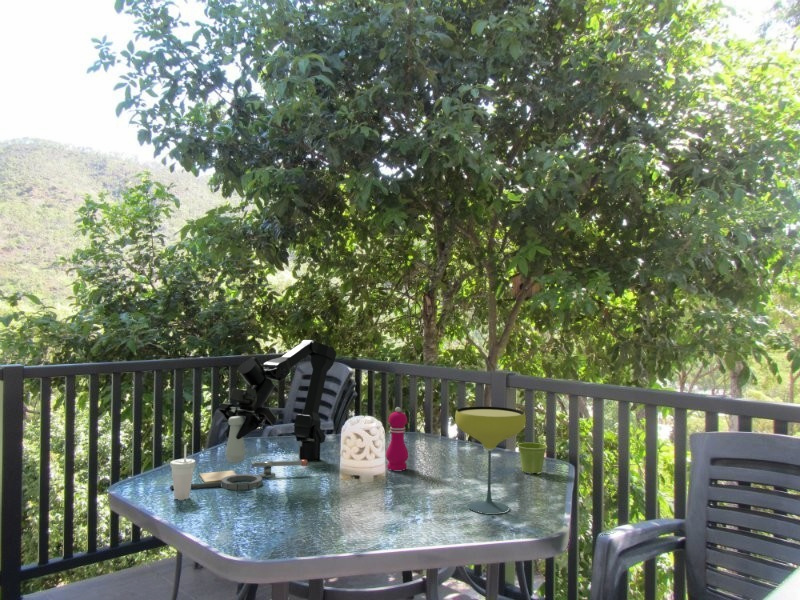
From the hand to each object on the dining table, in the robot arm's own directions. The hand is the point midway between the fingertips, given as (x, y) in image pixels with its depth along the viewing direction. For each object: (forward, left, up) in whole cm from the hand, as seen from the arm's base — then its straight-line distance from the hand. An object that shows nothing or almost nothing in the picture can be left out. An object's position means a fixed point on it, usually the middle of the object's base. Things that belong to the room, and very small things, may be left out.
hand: (232, 437), depth 181 cm
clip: (-15, -6, -10) cm, 19 cm away
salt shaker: (-1, -1, -7) cm, 7 cm away
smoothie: (+13, +12, -13) cm, 22 cm away
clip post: (-11, -6, -13) cm, 18 cm away
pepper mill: (-52, -5, -13) cm, 54 cm away
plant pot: (-93, +9, -13) cm, 94 cm away
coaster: (+3, -7, -13) cm, 15 cm away
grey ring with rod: (+4, +2, -13) cm, 14 cm away
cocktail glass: (-63, +40, -13) cm, 76 cm away
